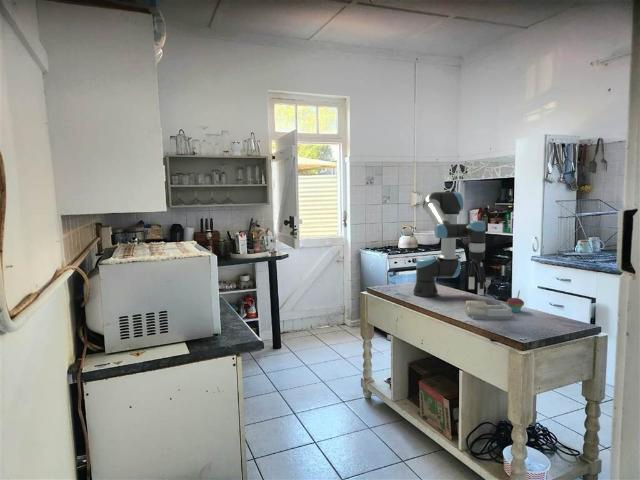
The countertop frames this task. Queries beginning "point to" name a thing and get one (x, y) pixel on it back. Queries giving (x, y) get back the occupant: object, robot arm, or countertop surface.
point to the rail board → (495, 312)
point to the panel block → (476, 307)
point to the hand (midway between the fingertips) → (475, 292)
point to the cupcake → (515, 303)
